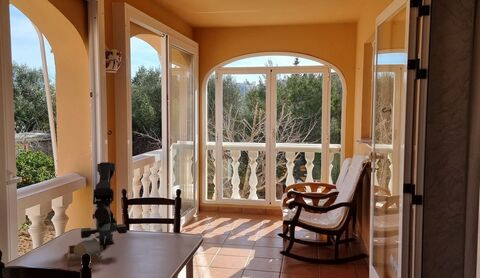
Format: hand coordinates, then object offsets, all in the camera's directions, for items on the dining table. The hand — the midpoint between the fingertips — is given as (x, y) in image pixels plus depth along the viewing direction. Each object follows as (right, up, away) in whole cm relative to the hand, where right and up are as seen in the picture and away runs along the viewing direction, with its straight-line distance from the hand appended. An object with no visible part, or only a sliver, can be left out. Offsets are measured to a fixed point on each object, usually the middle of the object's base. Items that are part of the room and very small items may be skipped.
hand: (104, 249), depth 169 cm
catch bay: (-8, -2, -3) cm, 9 cm away
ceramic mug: (-5, -2, -4) cm, 7 cm away
